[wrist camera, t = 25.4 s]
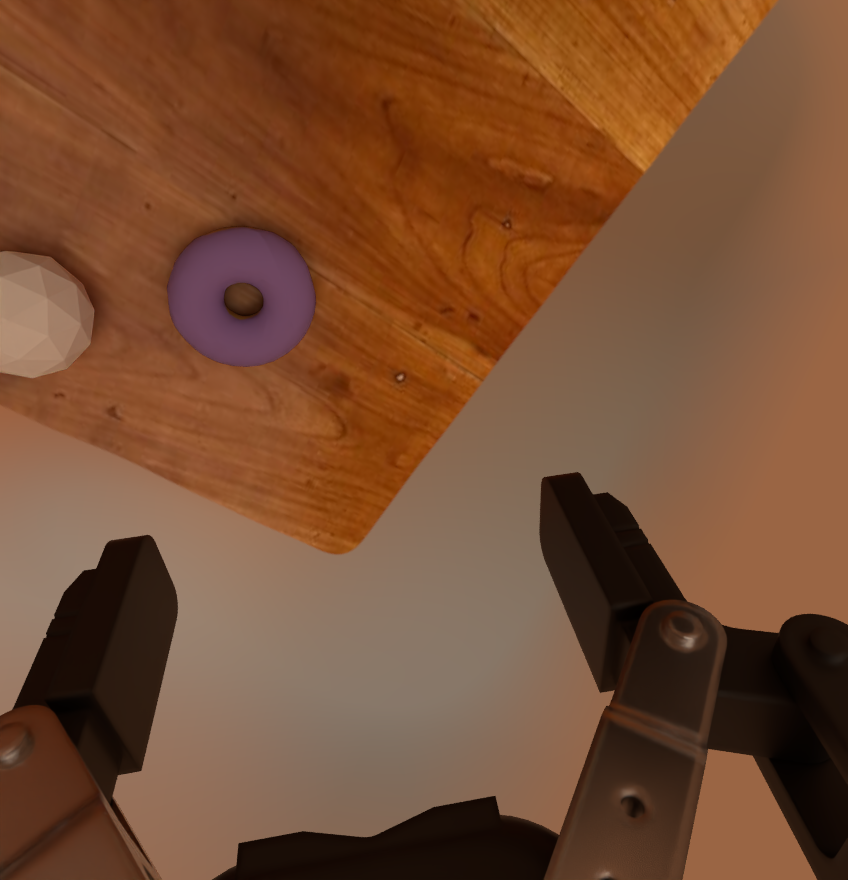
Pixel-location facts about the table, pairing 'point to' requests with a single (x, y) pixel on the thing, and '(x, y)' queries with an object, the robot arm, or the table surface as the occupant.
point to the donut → (245, 261)
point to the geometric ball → (41, 315)
